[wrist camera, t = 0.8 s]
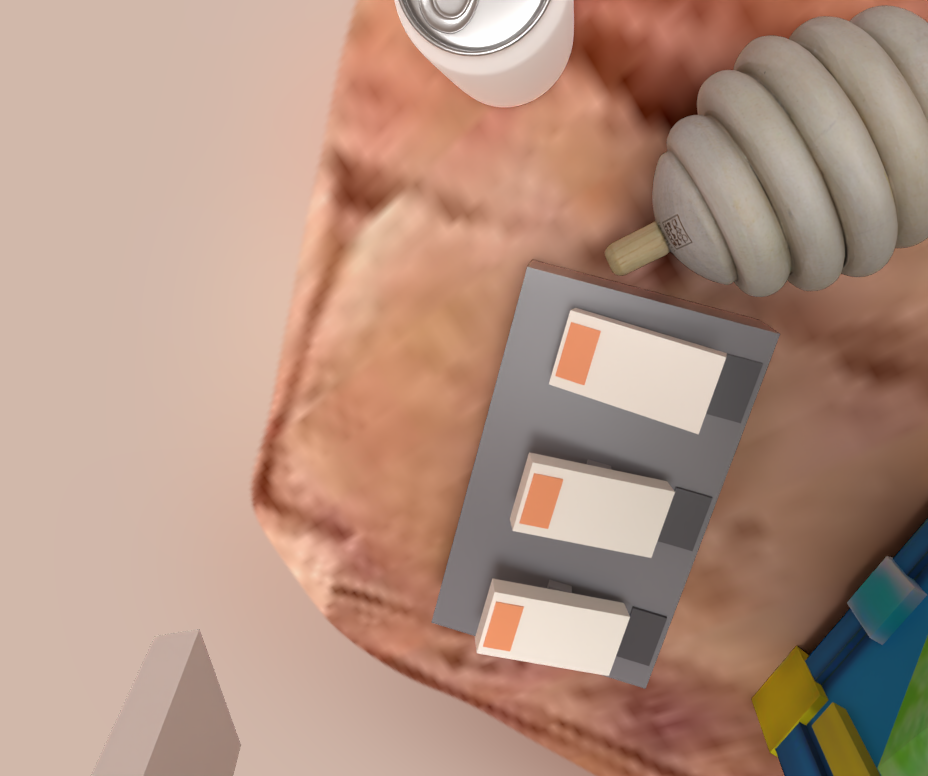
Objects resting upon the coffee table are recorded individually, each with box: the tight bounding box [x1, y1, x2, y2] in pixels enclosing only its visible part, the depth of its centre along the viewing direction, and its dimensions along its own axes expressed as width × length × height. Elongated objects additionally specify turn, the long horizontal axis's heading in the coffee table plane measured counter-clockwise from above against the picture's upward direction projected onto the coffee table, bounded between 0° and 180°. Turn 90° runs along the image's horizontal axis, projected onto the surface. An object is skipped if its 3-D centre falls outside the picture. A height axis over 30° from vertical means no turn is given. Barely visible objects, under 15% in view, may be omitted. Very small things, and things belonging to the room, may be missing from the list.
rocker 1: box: [549, 308, 727, 434], centre depth 33 cm, size 7×4×2 cm, turn 76°
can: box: [394, 0, 574, 107], centre depth 30 cm, size 6×6×12 cm
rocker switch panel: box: [432, 260, 780, 689], centre depth 38 cm, size 12×20×5 cm, turn 166°
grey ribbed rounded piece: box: [605, 6, 928, 297], centre depth 30 cm, size 11×17×11 cm, turn 124°
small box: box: [475, 578, 630, 676], centre depth 37 cm, size 7×4×2 cm, turn 76°
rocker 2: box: [510, 452, 675, 558], centre depth 35 cm, size 7×4×2 cm, turn 76°
